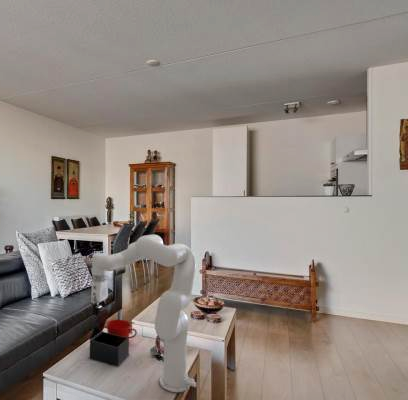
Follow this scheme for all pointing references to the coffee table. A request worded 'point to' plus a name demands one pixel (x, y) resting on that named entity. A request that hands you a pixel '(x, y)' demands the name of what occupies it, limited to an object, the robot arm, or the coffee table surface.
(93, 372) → the coffee table surface
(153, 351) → the packaged food
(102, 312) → the bin lid
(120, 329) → the ceramic cup
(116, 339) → the bin
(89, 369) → the coffee table surface
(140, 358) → the coffee table surface
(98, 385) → the coffee table surface
